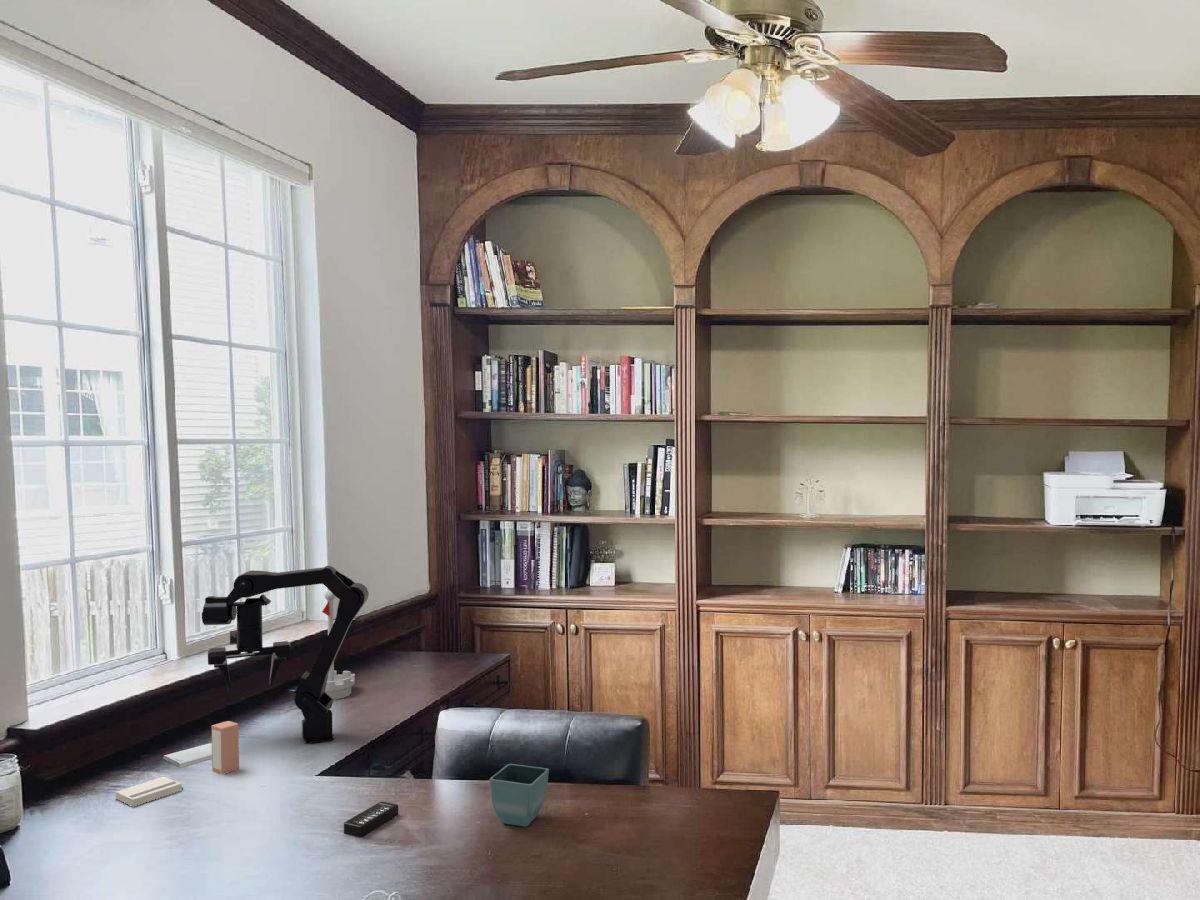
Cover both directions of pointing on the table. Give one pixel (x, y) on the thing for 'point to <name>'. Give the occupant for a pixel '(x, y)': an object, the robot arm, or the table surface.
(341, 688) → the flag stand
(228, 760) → the stub
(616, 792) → the table surface
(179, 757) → the hard drive
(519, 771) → the flower pot
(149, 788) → the striped cream block
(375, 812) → the multiport hub
